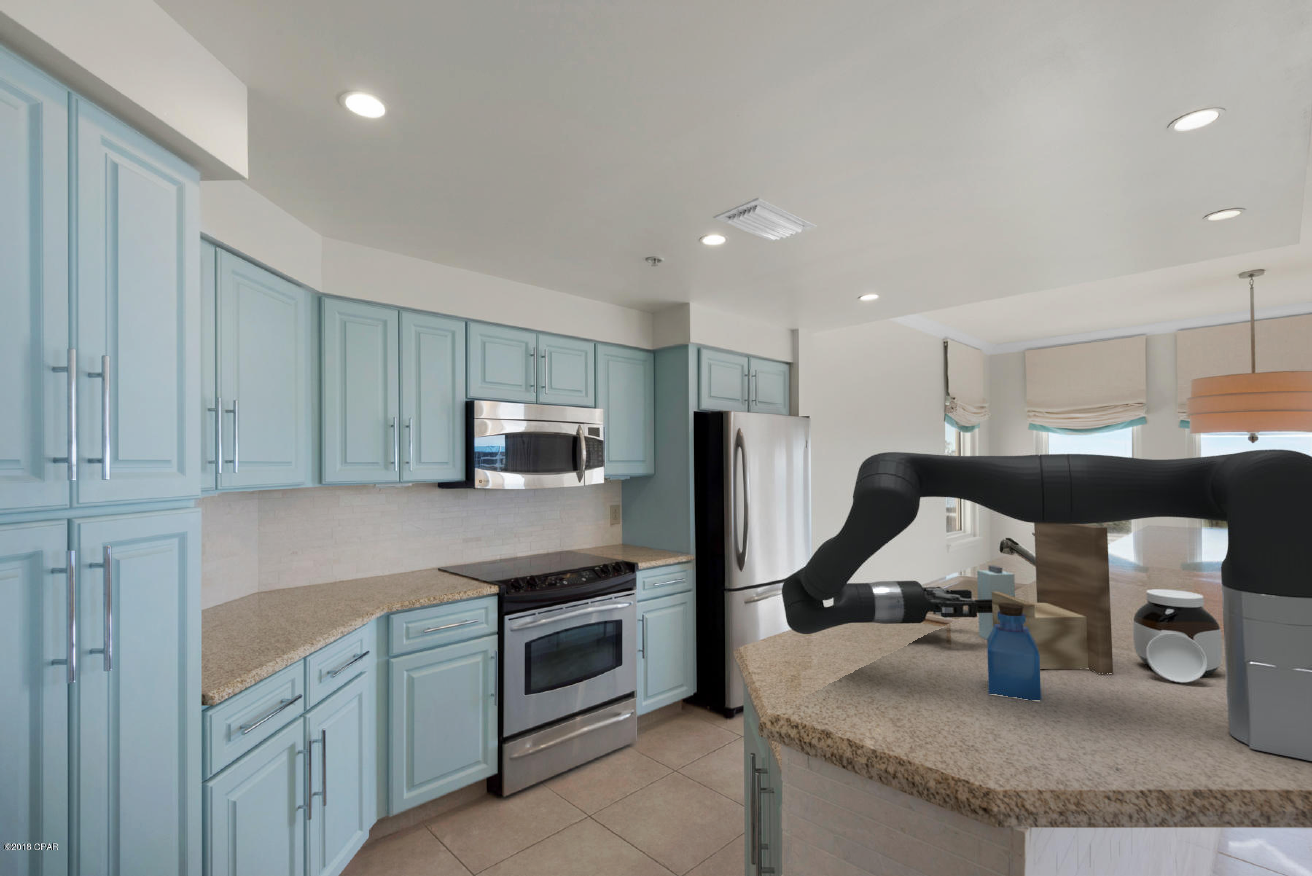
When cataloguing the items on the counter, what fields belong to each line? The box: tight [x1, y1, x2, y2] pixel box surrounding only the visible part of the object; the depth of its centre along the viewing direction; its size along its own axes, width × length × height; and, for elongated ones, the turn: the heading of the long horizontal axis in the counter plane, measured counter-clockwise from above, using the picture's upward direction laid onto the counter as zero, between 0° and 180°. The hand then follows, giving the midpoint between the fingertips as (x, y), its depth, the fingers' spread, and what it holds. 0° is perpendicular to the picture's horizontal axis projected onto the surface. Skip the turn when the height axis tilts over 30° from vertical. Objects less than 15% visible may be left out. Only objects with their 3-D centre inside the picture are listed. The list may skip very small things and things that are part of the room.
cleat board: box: [992, 523, 1114, 675], centre depth 103 cm, size 11×15×22 cm
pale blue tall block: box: [976, 565, 1016, 641], centre depth 115 cm, size 4×4×13 cm
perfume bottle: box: [986, 603, 1042, 701], centre depth 89 cm, size 6×6×12 cm
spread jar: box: [1132, 588, 1223, 684], centre depth 95 cm, size 12×11×12 cm
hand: (982, 600), depth 114 cm, fingers open, 8 cm apart
